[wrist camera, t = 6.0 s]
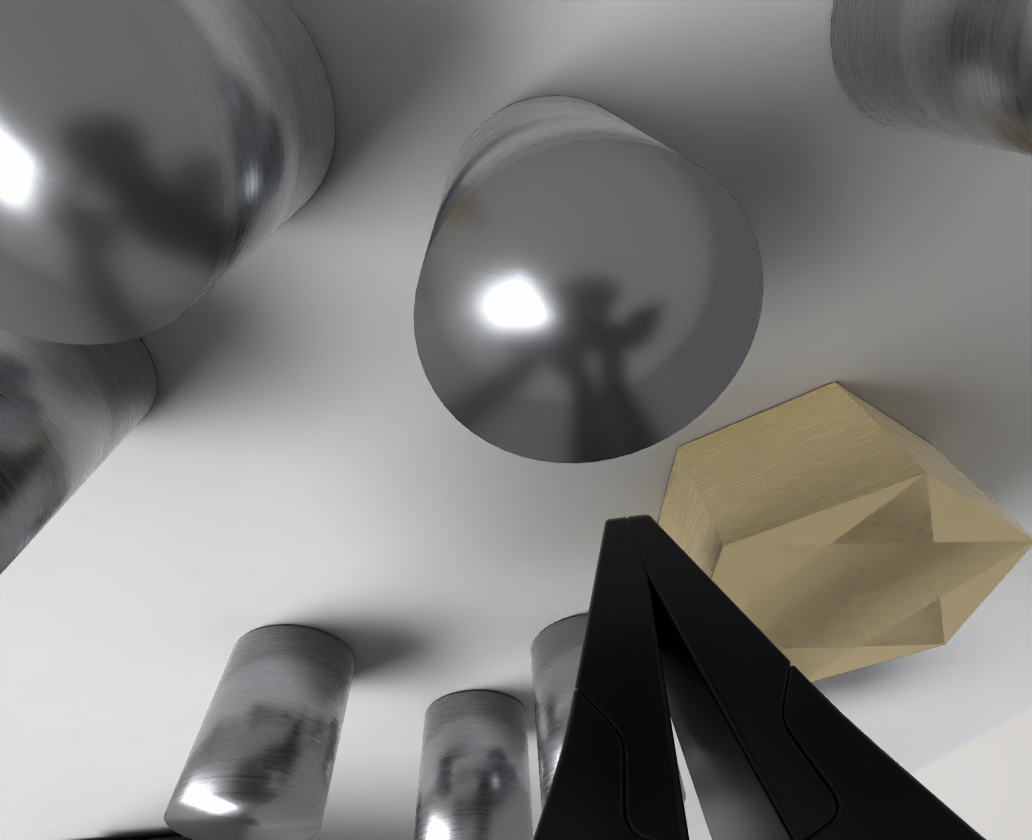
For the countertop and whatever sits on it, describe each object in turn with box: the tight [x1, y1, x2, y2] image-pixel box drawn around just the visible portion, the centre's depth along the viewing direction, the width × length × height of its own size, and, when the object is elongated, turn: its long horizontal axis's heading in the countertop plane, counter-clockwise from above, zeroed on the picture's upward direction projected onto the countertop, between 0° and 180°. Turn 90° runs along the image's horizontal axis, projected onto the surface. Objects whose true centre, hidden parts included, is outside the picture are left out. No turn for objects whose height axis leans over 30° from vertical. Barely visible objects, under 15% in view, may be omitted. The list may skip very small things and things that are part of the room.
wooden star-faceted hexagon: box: [658, 382, 1032, 682], centre depth 10 cm, size 5×6×2 cm
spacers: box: [0, 0, 1032, 840], centre depth 10 cm, size 19×16×4 cm
